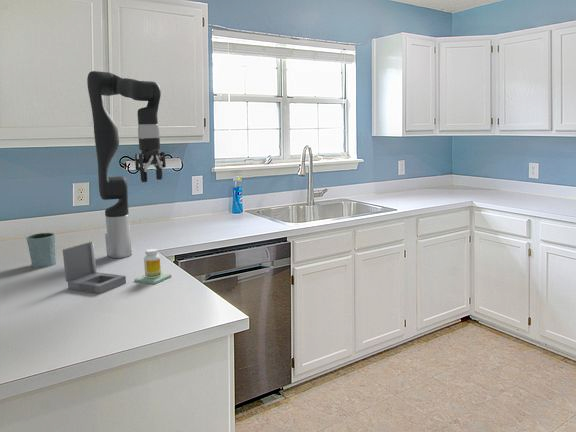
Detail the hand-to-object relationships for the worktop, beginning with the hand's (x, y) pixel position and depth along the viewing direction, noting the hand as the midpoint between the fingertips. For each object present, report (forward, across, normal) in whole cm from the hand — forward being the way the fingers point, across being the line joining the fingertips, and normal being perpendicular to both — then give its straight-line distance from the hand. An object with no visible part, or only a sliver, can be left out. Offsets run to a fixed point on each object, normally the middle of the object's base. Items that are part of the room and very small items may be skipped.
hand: (152, 180), depth 185 cm
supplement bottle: (+32, +14, +9) cm, 36 cm away
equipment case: (+33, +27, -4) cm, 43 cm away
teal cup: (+33, +14, -45) cm, 58 cm away
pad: (+33, +14, +9) cm, 37 cm away
